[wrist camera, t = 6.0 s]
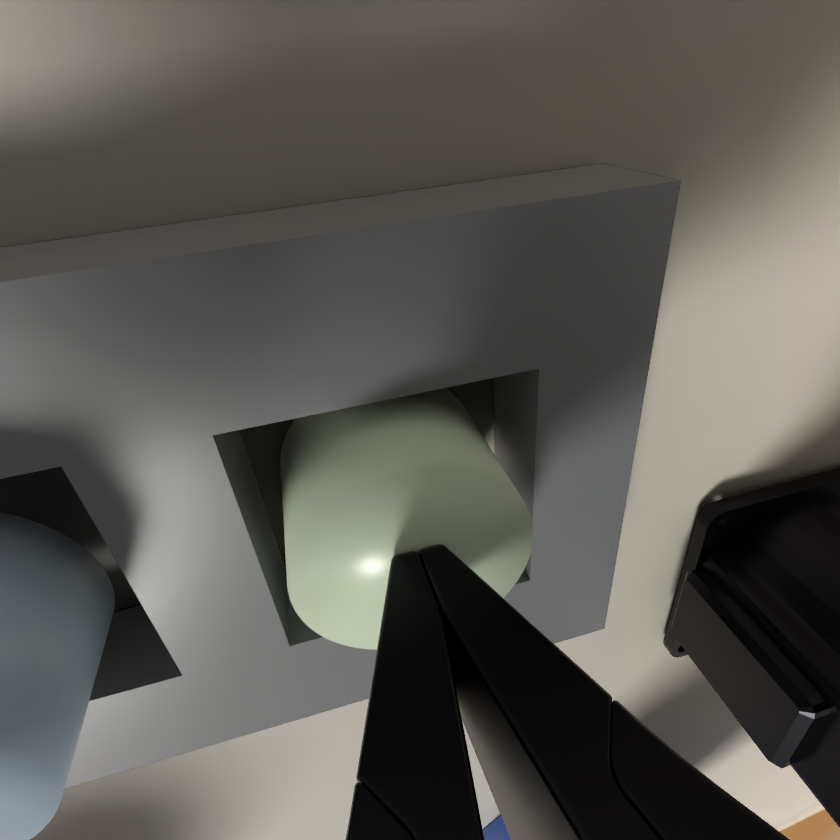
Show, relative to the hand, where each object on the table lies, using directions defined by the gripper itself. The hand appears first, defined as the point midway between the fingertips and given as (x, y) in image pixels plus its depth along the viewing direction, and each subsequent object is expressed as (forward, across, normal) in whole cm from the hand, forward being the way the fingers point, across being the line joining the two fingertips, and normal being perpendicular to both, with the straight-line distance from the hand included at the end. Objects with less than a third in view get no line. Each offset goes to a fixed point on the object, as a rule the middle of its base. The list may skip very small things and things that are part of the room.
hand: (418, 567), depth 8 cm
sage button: (+3, 0, 0) cm, 3 cm away
